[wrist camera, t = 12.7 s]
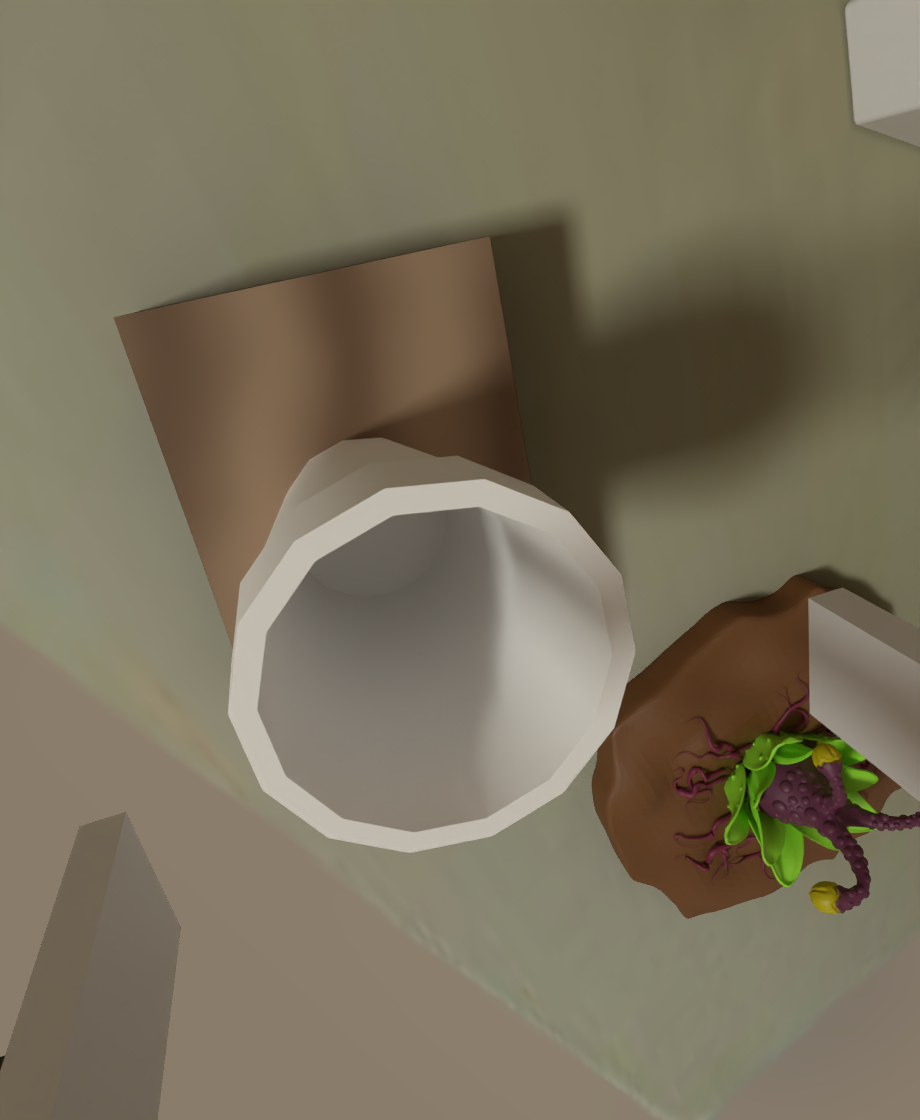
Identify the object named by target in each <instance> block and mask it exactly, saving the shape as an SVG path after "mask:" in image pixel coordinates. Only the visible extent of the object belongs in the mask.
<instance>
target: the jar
mask: <svg viewBox="0 0 920 1120" xmlns="http://www.w3.org/2000/svg"><path fill="white" fill-rule="evenodd" d="M845 23H846V34H847V46H848V58H849V69H850V81H851V93H852V104H853V116H854V122H855V124H856V125H858V126H861V127H864V128H867V129H870V130H872V131H875V132H878V133H881V134H884V135H886V136H889V137H892V138H895V139H898V140H900V141H903V142H906V143H909V144H912V145H915V146H917V147H920V0H850V1H849V2H848V3H847V5H846V7H845Z"/></svg>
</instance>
